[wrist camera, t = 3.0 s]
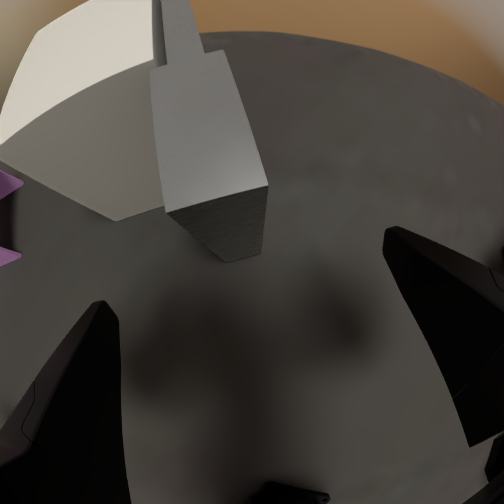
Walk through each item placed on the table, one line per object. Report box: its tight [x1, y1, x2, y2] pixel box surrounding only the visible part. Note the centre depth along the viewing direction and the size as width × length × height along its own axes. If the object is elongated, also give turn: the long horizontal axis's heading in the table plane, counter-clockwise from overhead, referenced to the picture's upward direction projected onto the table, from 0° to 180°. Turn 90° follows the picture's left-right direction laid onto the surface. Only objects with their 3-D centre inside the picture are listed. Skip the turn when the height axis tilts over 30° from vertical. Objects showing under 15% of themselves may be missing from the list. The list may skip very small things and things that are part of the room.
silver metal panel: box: [149, 0, 268, 263], centre depth 13 cm, size 15×2×12 cm, turn 15°
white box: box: [0, 0, 167, 222], centre depth 14 cm, size 11×8×13 cm
